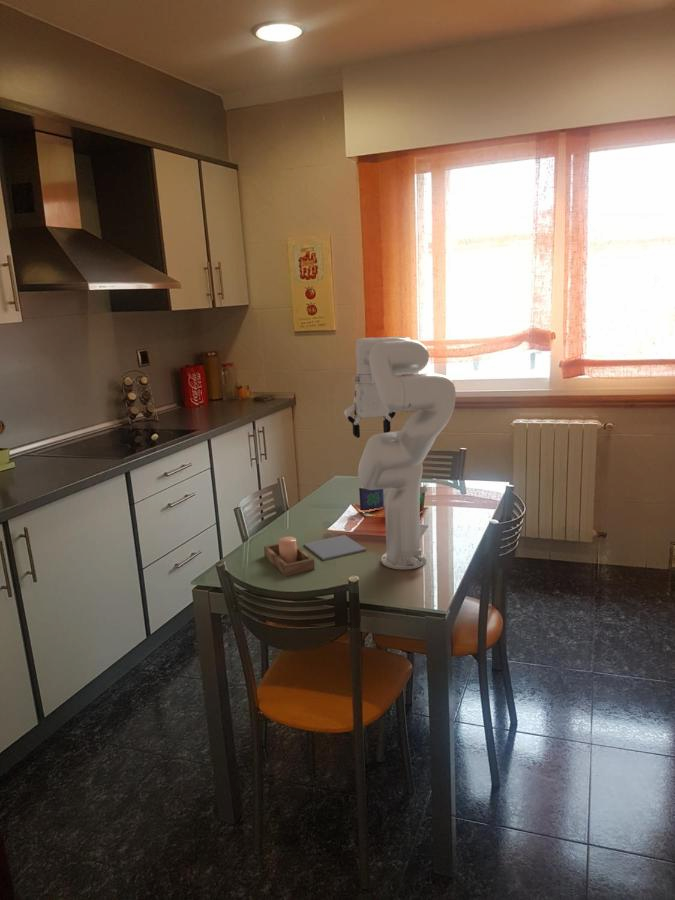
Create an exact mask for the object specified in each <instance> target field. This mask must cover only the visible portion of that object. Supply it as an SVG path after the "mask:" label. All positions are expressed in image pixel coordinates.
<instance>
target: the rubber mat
mask: <svg viewBox="0 0 675 900" xmlns="http://www.w3.org/2000/svg"><path fill="white" fill-rule="evenodd" d="M303 546H304V547H305V548H306V549H308V550H309V551H310V552H312V553H313V554H314V555H315V556H317V557H318V558H319V559H321V560H322V561H327V560H331V559H332V560H333V559H336V558H340V557H345V556H349V555H354V554H356V553H361V552H366V551H367V548H366V547H365V546H362V545H361V544H360V543H358V542H356V541H355V540H353V539H351V538H350V537H349V536H347V535H346V534H343V535H338V536H333V537H329V538H324V539H319V540H314V541H311V542H305V543H303Z"/></svg>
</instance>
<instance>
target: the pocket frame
mask: <svg viewBox="0 0 675 900" xmlns="http://www.w3.org/2000/svg"><path fill="white" fill-rule="evenodd" d="M263 552H264V553H263V554H264V557H265V558H266V559H267V560H268V561H269V562H270V563H271V564H272V565H274V567H275V568H276V569H278V570H279V571H280V572H281V573H282V574H283V576H285V577H288V576H292V575H297V574H301V573H304V572H310V571H313V570H315V558H313V557H312V556H311V555H309V553H307V552H306V551H304V550H303V549H302V548H301V547H299V546H298V545H297V560H298V562H293V563H289V564H287V563H286V562H285V561H283V560H282V559H281V558H280V554H279V542H278V543H274V544H269V545H265V546H263Z"/></svg>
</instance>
